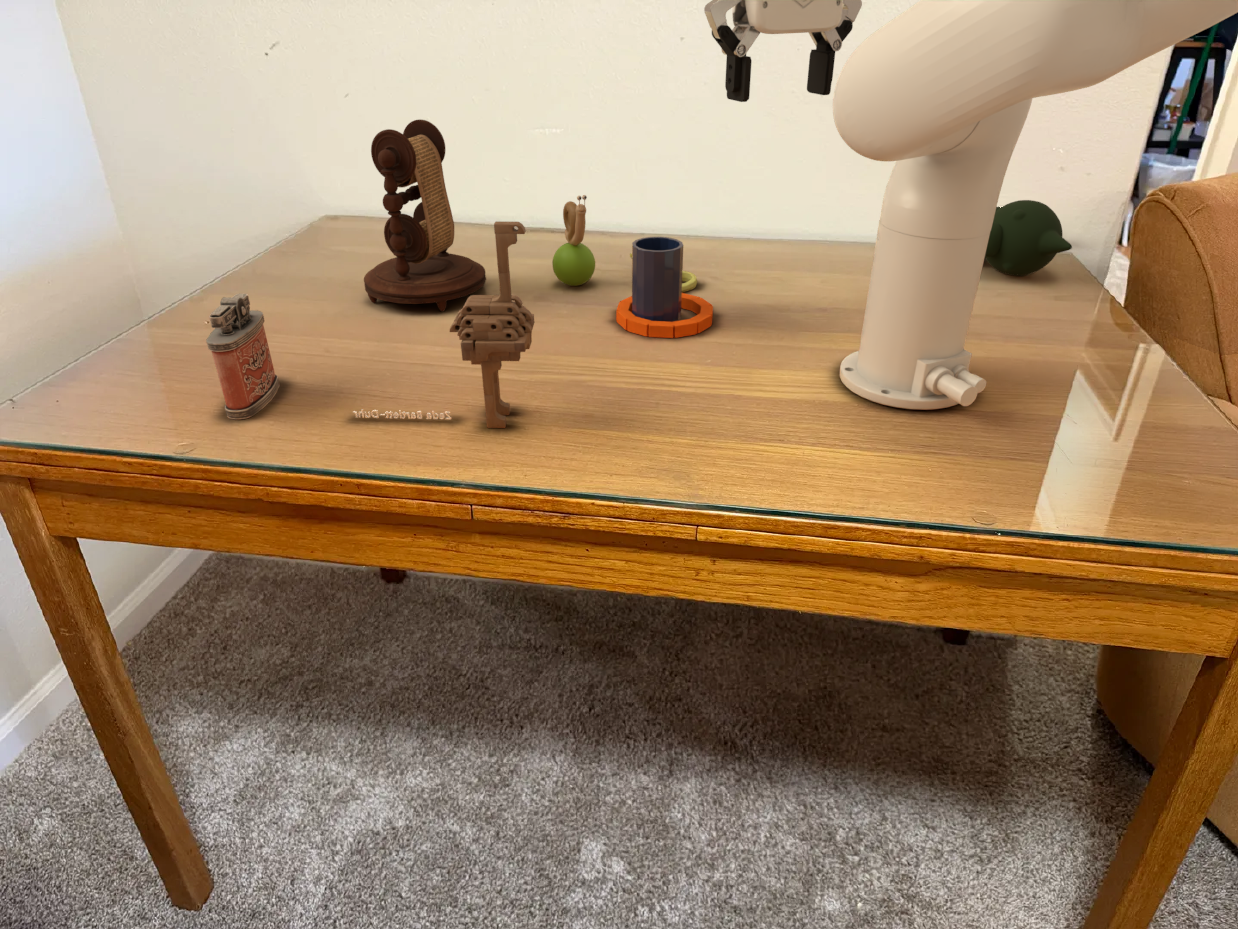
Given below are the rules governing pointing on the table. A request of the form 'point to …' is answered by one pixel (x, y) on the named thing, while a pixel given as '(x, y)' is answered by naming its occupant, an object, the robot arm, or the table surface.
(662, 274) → the cup
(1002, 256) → the toy figurine
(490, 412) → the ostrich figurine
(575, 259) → the snail figurine
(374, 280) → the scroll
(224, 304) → the lighter
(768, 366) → the table surface
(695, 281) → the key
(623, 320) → the ring
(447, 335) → the table surface
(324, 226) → the table surface
